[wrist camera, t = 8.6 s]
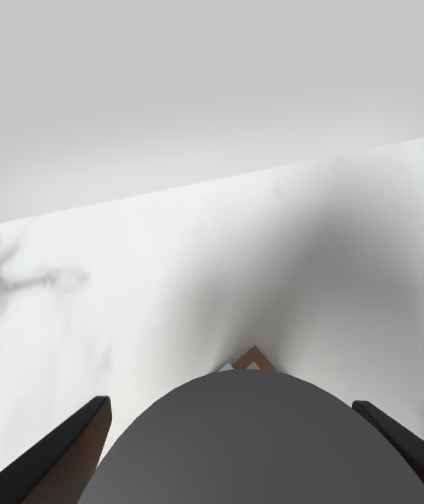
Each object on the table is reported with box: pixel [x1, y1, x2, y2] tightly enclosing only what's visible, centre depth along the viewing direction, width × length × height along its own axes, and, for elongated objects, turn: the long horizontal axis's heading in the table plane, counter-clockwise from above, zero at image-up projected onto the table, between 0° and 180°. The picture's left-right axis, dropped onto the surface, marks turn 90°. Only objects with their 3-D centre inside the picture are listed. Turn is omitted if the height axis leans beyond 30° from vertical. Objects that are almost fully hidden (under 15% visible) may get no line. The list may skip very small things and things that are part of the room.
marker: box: [78, 369, 424, 504], centre depth 8 cm, size 4×4×14 cm
